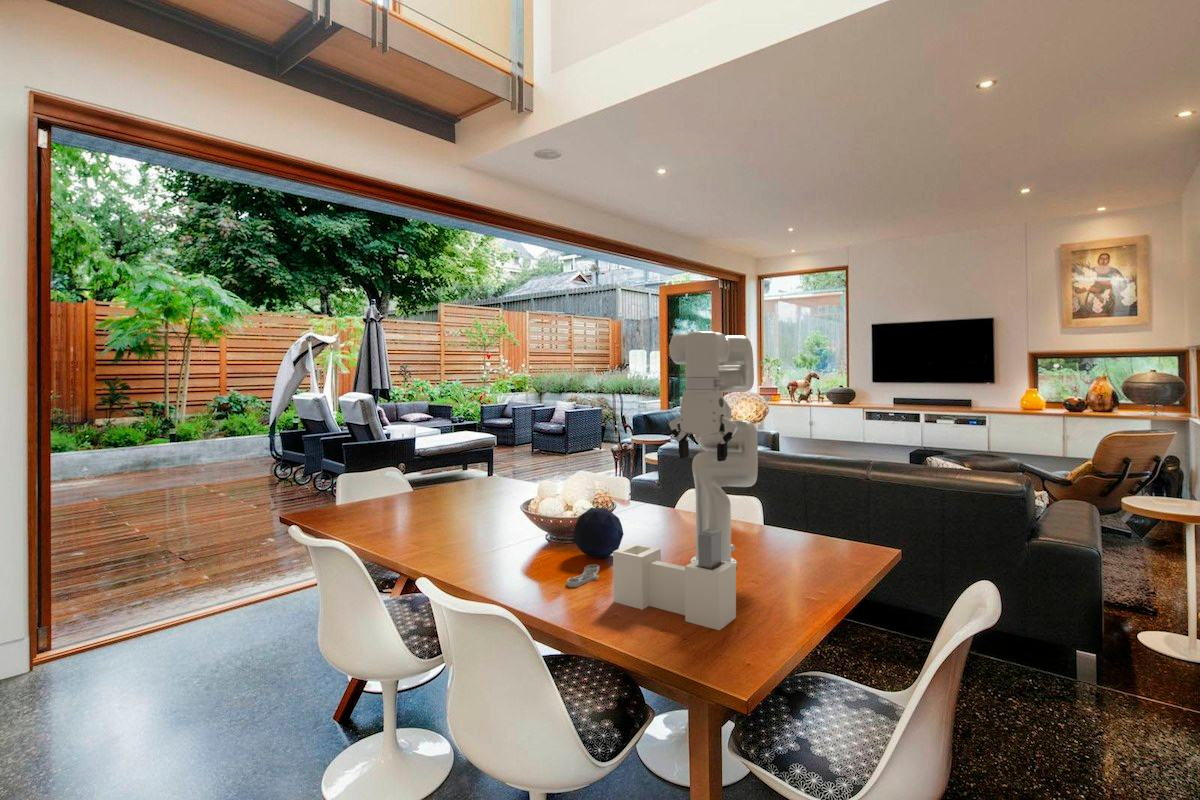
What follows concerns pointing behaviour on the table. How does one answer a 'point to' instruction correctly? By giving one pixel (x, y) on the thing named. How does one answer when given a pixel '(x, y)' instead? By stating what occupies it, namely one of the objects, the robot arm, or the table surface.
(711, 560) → the gray rectangular block
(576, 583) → the bracket
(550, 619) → the table surface
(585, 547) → the decorative orb
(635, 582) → the double socket connector
